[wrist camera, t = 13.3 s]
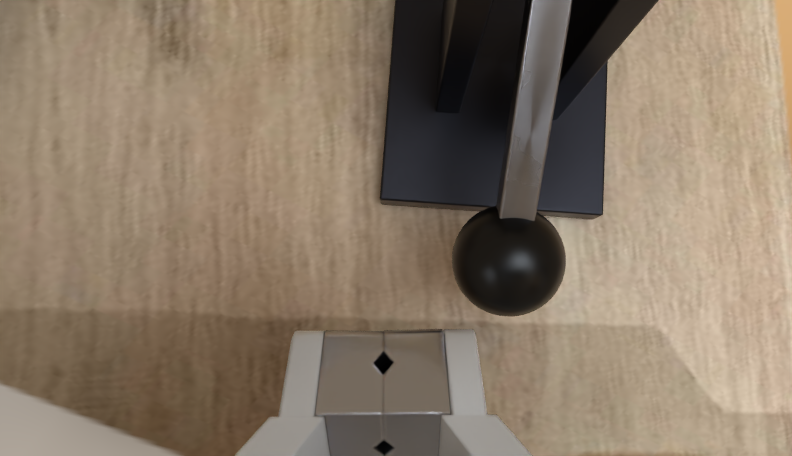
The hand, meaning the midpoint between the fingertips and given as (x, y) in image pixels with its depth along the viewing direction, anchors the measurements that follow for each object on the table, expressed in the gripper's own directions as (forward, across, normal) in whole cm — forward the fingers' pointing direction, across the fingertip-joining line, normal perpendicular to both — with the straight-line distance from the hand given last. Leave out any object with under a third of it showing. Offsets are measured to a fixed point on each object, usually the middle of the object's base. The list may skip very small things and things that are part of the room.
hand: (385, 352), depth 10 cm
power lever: (+11, -4, +1) cm, 11 cm away
